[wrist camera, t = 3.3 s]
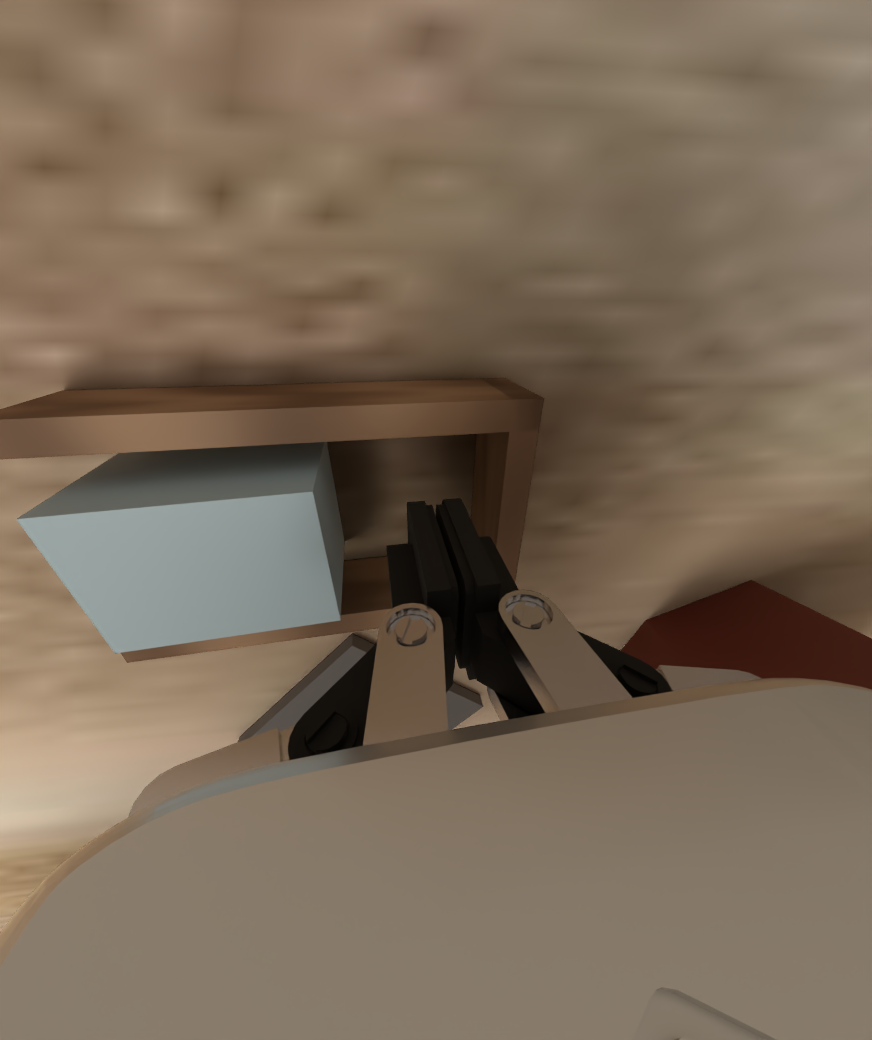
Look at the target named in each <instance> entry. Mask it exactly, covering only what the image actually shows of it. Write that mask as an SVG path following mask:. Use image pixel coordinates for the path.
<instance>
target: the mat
mask: <svg viewBox="0 0 872 1040" xmlns="http://www.w3.org/2000/svg"><path fill="white" fill-rule="evenodd" d="M373 646H374V644H372V643H370V642H368V641H366V640H364V639H362V638H360V637H358V636H356V635H354V634H352V635H351V636H350V637H348V638H347V639H346V640H345V641H344V642H343V643H342V644H341V645H340V646H339V647H338V648H336V649H335V650H334V651H333V652H332V653H331V654H330V655H329V656H328V657H327V658H326V659H324V660H323V661H322V662H321V663H320V664H319V665H318V666H317V667H316V668H315V669H314V670H312V671H311V672H310V673H309V674H308V675H307V676H306V677H305V678H304V679H303V680H302V681H300V682H299V683H298V684H297V685H296V686H295V687H294V688H293V689H292V690H291V691H290V692H288V693H287V694H286V695H285V696H284V697H283V698H282V699H281V700H280V701H279V702H278V703H276V704H275V705H274V706H273V707H272V708H271V709H270V710H269V711H268V712H267V713H266V714H264V715H263V716H262V717H261V718H260V719H259V720H258V721H257V722H256V723H255V724H254V725H252V726H251V727H250V728H249V729H248V730H247V731H246V732H245V733H244V734H243V735H242V736H241V737H239V741H238V742H240V741H243V740H245V739H248V738H251V737H253V736H256V735H258V734H261V733H264V732H266V731H269V730H271V729H274V728H277V727H278V729H279V731H282V730H285V729H287V728H290V727H293V726H295V724H296V723H297V722H298V721H299V719H300V718H301V717H302V716H303V714H304V713H305V712H306V711H307V710H308V709H309V708H311V707H312V706H313V705H314V704H315V703H316V702H317V701H318V700H319V699H320V698H321V697H322V696H323V695H324V694H325V693H326V692H327V691H328V690H329V689H330V688H331V687H332V686H333V685H334V684H335V683H336V682H337V681H338V680H339V679H340V678H341V677H342V676H343V675H344V674H345V673H346V672H347V671H348V670H350V669H351V668H352V667H353V666H354V665H355V664H356V663H357V662H358V661H359V660H360V659H361V658H362V657H363V656H364V655H365V654H366V653H367V652H368V651H369V650H370V649H371V648H372V647H373ZM446 703H447V723H448V730H452V729H453V728H454V727H456V726H457V725H458V724H460V723H461V722H462V721H464V720H465V719H467V718H468V717H469V716H471V715H472V714H473V713H475V712H476V711H478V710H479V709H480V708H482V707H483V704H482V701H481V698H480V695H478V694H476V693H474V692H472V691H470V690H468V689H465V688H463V687H461V686H459V685H457V684H455V683H453V685H452V686H451V687H450V689H449V690H448V692H447V693H446Z"/></svg>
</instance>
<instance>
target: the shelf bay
mask: <svg viewBox="0 0 872 1040" xmlns="http://www.w3.org/2000/svg"><path fill="white" fill-rule="evenodd" d="M543 402H544V398H542V397H540V396H538V395H537V394H535V393H533V392H531V391H529V390H527V389H525V388H523V387H521V386H519V385H517V384H515V383H514V382H512V381H510V380H508V379H506V378H486V379H451V380H416V381H380V382H345V383H310V384H275V385H240V386H205V387H170V388H135V389H100V390H64V391H59V392H56V393H53V394H50V395H46V396H43V397H40V398H36V399H33V400H30V401H26V402H23V403H20V404H17V405H13V406H10V407H7V408H3V409H0V459H17V458H35V457H54V456H72V455H91V454H109V453H128V452H147V451H165V450H184V449H202V448H221V447H239V446H258V445H276V444H295V443H314V442H332V441H351V440H369V439H388V438H406V437H425V436H444V435H462V434H476V449H475V464H474V479H473V494H472V509H471V521H472V523H473V525H474V527H475V529H476V531H477V534H478V536H479V537H483V536H489V537H491V539H492V540H493V542H494V544H495V546H496V548H497V550H498V552H499V554H500V555H501V557H502V559H503V561H504V563H505V565H506V567H507V569H508V571H509V573H510V574H511V576H512V578H513V580H514V582H515V579H516V573H517V566H518V560H519V554H520V547H521V541H522V535H523V528H524V522H525V516H526V509H527V503H528V497H529V490H530V484H531V478H532V471H533V465H534V459H535V452H536V446H537V440H538V433H539V427H540V421H541V414H542V408H543ZM391 609H392V603H391V592H390V581H389V569H388V557H387V556H386V557H376V558H367V559H357V560H348V561H344V564H343V583H342V603H341V620H340V621H333V622H326V623H319V624H313V625H306V626H299V627H292V628H285V629H279V630H272V631H265V632H258V633H251V634H244V635H238V636H231V637H224V638H217V639H210V640H204V641H197V642H190V643H183V644H176V645H170V646H163V647H156V648H149V649H142V650H136V651H129V652H122V653H121V654H122V656H123V657H124V659H125V660H126V662H127V663H128V662H135V661H143V660H150V659H157V658H165V657H172V656H179V655H186V654H194V653H201V652H208V651H215V650H223V649H230V648H237V647H245V646H252V645H259V644H266V643H274V642H281V641H288V640H296V639H303V638H310V637H317V636H325V635H332V634H339V633H346V632H354V631H361V630H368V629H376V628H379V626H380V623H381V620H382V618H383V617H384V616H385V614H386V613H387V612H388V611H390V610H391Z"/></svg>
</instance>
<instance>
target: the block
mask: <svg viewBox="0 0 872 1040" xmlns="http://www.w3.org/2000/svg"><path fill="white" fill-rule="evenodd" d="M16 520H17V521H18V522H19V524H20V525H21V526H22V528H23V529H24V530H25V532H26V533H27V535H28V536H29V537H30V539H31V540H32V541H33V543H34V544H35V545H36V547H37V548H38V550H39V551H40V552H41V554H42V555H43V556H44V558H45V559H46V560H47V562H48V563H49V564H50V566H51V567H52V569H53V570H54V571H55V573H56V574H57V575H58V577H59V578H60V579H61V581H62V582H63V583H64V585H65V586H66V588H67V589H68V590H69V592H70V593H71V594H72V596H73V597H74V598H75V600H76V601H77V603H78V604H79V605H80V607H81V608H82V609H83V611H84V612H85V613H86V615H87V616H88V617H89V619H90V620H91V622H92V623H93V624H94V626H95V627H96V628H97V630H98V631H99V632H100V634H101V635H102V636H103V638H104V639H105V641H106V642H107V643H108V645H109V646H110V647H111V649H112V650H113V651H114V653H122V652H129V651H136V650H142V649H149V648H156V647H163V646H170V645H176V644H183V643H190V642H197V641H204V640H210V639H217V638H224V637H231V636H238V635H244V634H251V633H258V632H265V631H272V630H279V629H285V628H292V627H299V626H306V625H313V624H319V623H326V622H333V621H340V620H341V603H342V583H343V564H344V544H345V541H344V535H343V529H342V524H341V518H340V513H339V507H338V501H337V496H336V490H335V485H334V479H333V474H332V468H331V462H330V457H329V451H328V446H327V442H314V443H295V444H276V445H258V446H239V447H221V448H202V449H184V450H165V451H147V452H128V453H118V454H117V455H115V456H114V457H112V458H111V459H109V460H108V461H106V462H104V463H103V464H101V465H100V466H98V467H97V468H95V469H94V470H92V471H90V472H89V473H87V474H86V475H84V476H83V477H81V478H80V479H78V480H76V481H75V482H73V483H72V484H70V485H69V486H67V487H66V488H64V489H62V490H61V491H59V492H58V493H56V494H55V495H53V496H52V497H50V498H48V499H47V500H45V501H44V502H42V503H41V504H39V505H38V506H36V507H34V508H33V509H31V510H30V511H28V512H27V513H25V514H24V515H22V516H20V517H19V518H17V519H16Z"/></svg>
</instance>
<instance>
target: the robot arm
mask: <svg viewBox="0 0 872 1040" xmlns="http://www.w3.org/2000/svg"><path fill="white" fill-rule="evenodd" d="M407 522H408V544H399V545H388V546H387V557H388V569H389V581H390V592H391V603H392V609H391V610H390V611H388V612H387V613H386V614H385V616H384V617H383V618H382V620H381V623H380V626H379V633H378V640H377V643H376V644H375V645H374V646H373V647H372V648H371V649H370V650H369V651H368V652H367V653H366V654H365V655H364V656H363V657H362V658H361V659H360V660H359V661H358V662H357V663H356V664H355V665H354V666H353V667H352V668H351V669H350V670H348V671H347V672H346V673H345V674H344V675H343V676H342V677H341V678H340V679H339V680H338V681H337V682H336V683H335V684H334V685H333V686H332V687H331V688H330V689H329V690H328V691H327V692H326V693H325V694H324V695H323V696H322V697H321V698H320V699H319V700H318V701H317V702H316V703H315V704H314V705H313V706H312V707H311V708H309V709H308V710H307V711H306V712H305V713H304V714H303V716H302V717H301V718H300V719H299V721H298V722H297V723H296V724H295V726H293V727H290V728H287V729H285V730H282V731H279V729H278V727H277V728H274V729H271V730H269V731H266V732H264V733H261V734H258V735H256V736H253V737H251V738H248V739H245V740H243V741H240V742H238V743H235V744H232V745H230V746H227V747H224V748H222V749H219V750H217V751H214V752H211V753H209V754H206V755H204V756H201V757H198V758H196V759H193V760H191V761H188V762H185V763H183V764H180V765H178V766H175V767H173V768H171V769H170V770H168V771H166V772H164V773H162V774H160V775H159V776H158V777H157V778H156V779H155V780H153V781H152V782H151V783H150V784H149V785H148V786H147V787H146V788H145V789H144V790H143V792H142V793H141V794H140V796H139V797H138V798H137V800H136V801H135V803H134V804H133V807H132V809H131V812H130V814H129V817H128V818H127V819H125V820H124V821H122V822H120V823H118V824H117V825H115V826H113V827H112V828H110V829H108V830H107V831H105V832H104V833H102V834H101V835H100V836H98V837H97V838H95V839H94V840H92V841H91V842H89V843H88V844H87V845H85V846H84V847H82V848H81V849H79V850H78V851H77V852H75V853H74V854H73V855H72V856H70V857H69V858H68V859H67V860H65V861H64V862H63V863H62V864H61V865H59V866H58V867H57V868H56V869H55V870H54V871H53V872H52V873H51V874H49V875H48V876H47V877H46V878H45V879H44V880H43V881H42V882H41V883H40V885H39V886H38V887H37V888H36V889H35V890H34V891H33V892H32V893H31V894H30V896H29V897H28V898H27V899H26V900H25V901H24V902H23V903H22V905H21V906H20V907H19V908H18V910H17V911H16V912H15V913H14V915H13V916H12V917H11V919H10V920H9V921H8V923H7V924H6V925H5V926H4V928H3V929H2V931H1V932H0V1040H872V690H871V689H868V688H864V687H860V686H855V685H849V684H844V683H839V682H833V681H827V680H816V679H804V678H765V679H762V678H760V677H758V676H755V675H753V674H751V673H748V672H744V671H739V670H728V669H713V668H698V667H682V666H667V665H659V667H658V669H654V668H653V667H652V666H650V665H648V664H647V663H645V662H643V661H642V660H639V659H637V658H635V657H633V656H631V655H629V654H626V653H624V652H622V651H620V650H618V649H615V648H613V647H611V646H609V645H607V644H605V643H602V642H600V641H598V640H596V639H594V638H592V637H589V636H587V635H585V634H583V633H581V632H579V631H577V630H576V629H575V628H574V627H573V626H572V624H571V623H570V622H569V621H568V620H567V618H566V617H565V616H564V615H563V614H562V612H561V611H560V610H559V609H558V608H557V606H556V605H555V604H554V603H553V602H552V601H551V600H550V599H549V598H547V597H545V596H544V595H542V594H540V593H537V592H534V591H529V590H518V588H517V586H516V584H515V582H514V580H513V578H512V576H511V574H510V573H509V571H508V569H507V567H506V565H505V563H504V561H503V559H502V557H501V555H500V554H499V552H498V550H497V548H496V546H495V544H494V542H493V540H492V539H491V537H489V536H483V537H479V536H478V534H477V531H476V529H475V527H474V525H473V523H472V521H471V519H470V517H469V515H468V513H467V511H466V508H465V506H464V504H463V502H462V500H461V499H460V498H458V499H445V500H443V501H442V504H439V505H436V516H435V513H434V510H433V507H432V505H426V503H425V501H419V502H407ZM455 655H456V659H457V662H458V666H459V668H460V669H462V668H466V671H467V675H468V678H469V680H472V679H477V681H479V682H481V683H482V684H484V685H485V686H487V691H488V695H489V698H490V700H491V702H492V704H493V706H494V708H495V710H496V712H497V714H498V717H499V719H500V721H498V722H493V723H487V724H481V725H476V726H470V727H464V728H459V729H453V730H448V723H447V703H446V693H447V692H448V690H449V689H450V687H451V686H452V685H453V674H454V668H455Z"/></svg>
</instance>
